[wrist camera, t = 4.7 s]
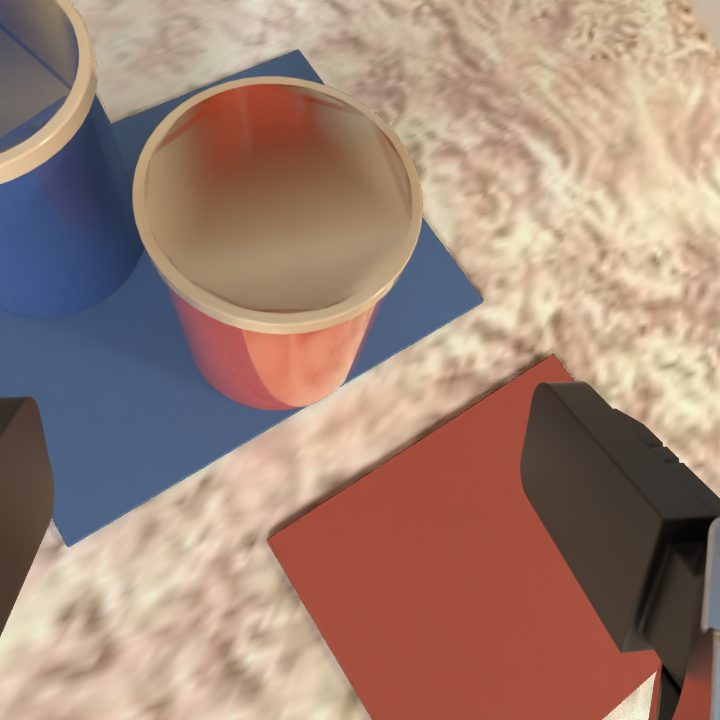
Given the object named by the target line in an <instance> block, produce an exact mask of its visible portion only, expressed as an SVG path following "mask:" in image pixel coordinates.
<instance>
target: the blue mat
mask: <svg viewBox="0 0 720 720" xmlns="http://www.w3.org/2000/svg"><path fill="white" fill-rule="evenodd" d="M261 76H280V77H289V78H298V79H303V80H307V81H312V82H316V83H319V84H322V85H324V83H323V82H322V80H321V79H320V78H319V76H318V75H317V74H316V72H315V71H314V70H313V68H312V67H311V66H310V64H309V63H308V61H307V60H306V59H305V57H304V56H303V55H302V53H301V52H300V51H299V49H298V50H296V51H293V52H291V53H288V54H286V55H283V56H281V57H278V58H276V59H273V60H271V61H268V62H266V63H263V64H261V65H258V66H256V67H253V68H251V69H248V70H246V71H243V72H241V73H238V74H236V75H233V76H231V77H228V78H226V79H223V80H221V81H218V82H216V83H213V84H211V85H208V86H206V87H203V88H201V89H198V90H196V91H193V92H191V93H188V94H186V95H183V96H181V97H178V98H176V99H173V100H171V101H168V102H165V103H163V104H160V105H158V106H155V107H153V108H150V109H148V110H145V111H143V112H140V113H138V114H135V115H133V116H130V117H128V118H125V119H123V120H120V121H118V122H115V123H113V124H111V126H112V129H113V132H114V135H115V138H116V141H117V144H118V147H119V150H120V153H121V155H122V158H123V161H124V164H125V167H126V170H127V173H128V176H129V179H130V181H131V184H132V186H133V179H134V172H135V169H136V166H137V163H138V159H139V156H140V154H141V152H142V150H143V148H144V146H145V144H146V142H147V140H148V139H149V137H150V136H151V134H152V133H153V131H154V130H155V128H156V127H157V126H158V125H159V124H160V123H161V122H162V120H163V119H164V118H165V117H166V116H167V115H168V114H169V113H170V112H172V111H173V110H174V109H175V108H176V107H178V106H179V105H180V104H181V103H183V102H185V101H186V100H188V99H189V98H191V97H193V96H194V95H196V94H198V93H200V92H202V91H204V90H207V89H209V88H211V87H214V86H217V85H220V84H223V83H226V82H229V81H234V80H239V79H243V78H252V77H261ZM483 301H484V300H483V299H482V298H481V296H480V295H479V293H478V292H477V291H476V289H475V288H474V287H473V285H472V284H471V283H470V281H469V280H468V279H467V277H466V276H465V274H464V273H463V272H462V270H461V269H460V268H459V266H458V265H457V264H456V262H455V261H454V260H453V258H452V257H451V255H450V254H449V253H448V251H447V250H446V249H445V247H444V246H443V245H442V243H441V242H440V241H439V239H438V238H437V236H436V235H435V234H434V232H433V231H432V230H431V228H430V227H429V226H428V224H427V223H426V222H425V220H424V219H423V217H422V223H421V230H420V233H419V237H418V240H417V244H416V246H415V248H414V251H413V253H412V255H411V257H410V260H409V262H408V264H407V266H406V268H405V270H404V272H403V273H402V275H401V276H400V278H399V279H398V281H397V282H396V283H395V285H394V286H393V287H392V288H391V289H390V290H389V291H388V293H387V294H386V296H385V299H384V301H383V304H382V306H381V309H380V311H379V313H378V316H377V318H376V321H375V323H374V326H373V328H372V330H371V333H370V335H369V338H368V340H367V343H366V345H365V348H364V350H363V352H362V355H361V357H360V359H359V361H358V364H357V366H356V367H355V369H354V370H353V372H352V373H351V375H350V376H349V377H348V378H347V380H346V381H345V382H344V383H343V384H342V385H344V384H346V383H347V382H349V381H351V380H352V379H354V378H356V377H357V376H359V375H361V374H363V373H364V372H366V371H368V370H369V369H371V368H373V367H374V366H376V365H378V364H379V363H381V362H383V361H384V360H386V359H388V358H390V357H391V356H393V355H395V354H396V353H398V352H400V351H401V350H403V349H405V348H406V347H408V346H410V345H412V344H413V343H415V342H417V341H418V340H420V339H422V338H423V337H425V336H427V335H428V334H430V333H432V332H434V331H435V330H437V329H439V328H440V327H442V326H444V325H445V324H447V323H449V322H450V321H452V320H454V319H455V318H457V317H459V316H461V315H462V314H464V313H466V312H467V311H469V310H471V309H472V308H474V307H476V306H477V305H479V304H481V303H482V302H483ZM342 385H341V386H342ZM341 386H340V387H341ZM0 397H32V398H34V399H35V401H36V403H37V405H38V407H39V411H40V415H41V420H42V425H43V430H44V435H45V440H46V445H47V450H48V455H49V460H50V465H51V470H52V475H53V480H54V489H55V498H54V508H53V514H52V518H53V520H54V522H55V524H56V526H57V528H58V530H59V532H60V534H61V536H62V538H63V540H64V542H65V544H66V546H67V547H70V546H72V545H73V544H75V543H77V542H79V541H80V540H82V539H84V538H85V537H87V536H89V535H90V534H92V533H94V532H95V531H97V530H99V529H100V528H102V527H104V526H106V525H107V524H109V523H111V522H112V521H114V520H116V519H117V518H119V517H121V516H122V515H124V514H126V513H128V512H129V511H131V510H133V509H134V508H136V507H138V506H139V505H141V504H143V503H144V502H146V501H148V500H150V499H151V498H153V497H155V496H156V495H158V494H160V493H161V492H163V491H165V490H166V489H168V488H170V487H171V486H173V485H175V484H177V483H178V482H180V481H182V480H183V479H185V478H187V477H188V476H190V475H192V474H193V473H195V472H197V471H199V470H200V469H202V468H204V467H205V466H207V465H209V464H210V463H212V462H214V461H215V460H217V459H219V458H221V457H222V456H224V455H226V454H227V453H229V452H231V451H232V450H234V449H236V448H237V447H239V446H241V445H242V444H244V443H246V442H248V441H249V440H251V439H253V438H254V437H256V436H258V435H259V434H261V433H263V432H264V431H266V430H268V429H270V428H271V427H273V426H275V425H276V424H278V423H280V422H281V421H283V420H285V419H286V418H288V417H290V416H292V415H293V414H295V413H297V412H298V411H300V410H302V409H303V408H305V407H307V406H308V405H307V406H304V407H300V408H295V409H289V410H264V409H258V408H253V407H250V406H247V405H243V404H241V403H239V402H236V401H234V400H232V399H230V398H229V397H227V396H225V395H224V394H222V393H221V392H219V391H218V390H217V389H216V388H214V387H213V386H212V385H211V384H210V383H209V382H208V381H207V380H206V379H205V378H204V377H203V375H202V374H201V372H200V371H199V370H198V368H197V367H196V365H195V363H194V361H193V359H192V357H191V354H190V351H189V348H188V345H187V342H186V340H185V337H184V334H183V331H182V328H181V325H180V322H179V319H178V316H177V313H176V311H175V308H174V305H173V302H172V299H171V296H170V293H169V290H168V287H167V284H166V282H165V281H164V280H163V279H162V277H161V276H160V275H159V273H158V272H157V270H156V269H155V268H154V266H153V265H152V263H151V261H150V259H149V257H148V255H147V253H146V251H145V249H144V246H143V248H142V252H141V255H140V258H139V260H138V262H137V264H136V267H135V268H134V270H133V271H132V273H131V274H130V276H129V277H128V278H127V280H126V281H125V282H124V283H123V284H122V286H120V287H119V288H118V289H117V290H116V291H115V292H114V293H113V294H111V295H110V296H109V297H107V298H106V299H104V300H103V301H101V302H99V303H98V304H96V305H94V306H92V307H90V308H87V309H85V310H83V311H80V312H77V313H73V314H70V315H65V316H59V317H50V318H34V317H24V316H19V315H14V314H11V313H8V312H4V311H2V310H0Z"/></svg>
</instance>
